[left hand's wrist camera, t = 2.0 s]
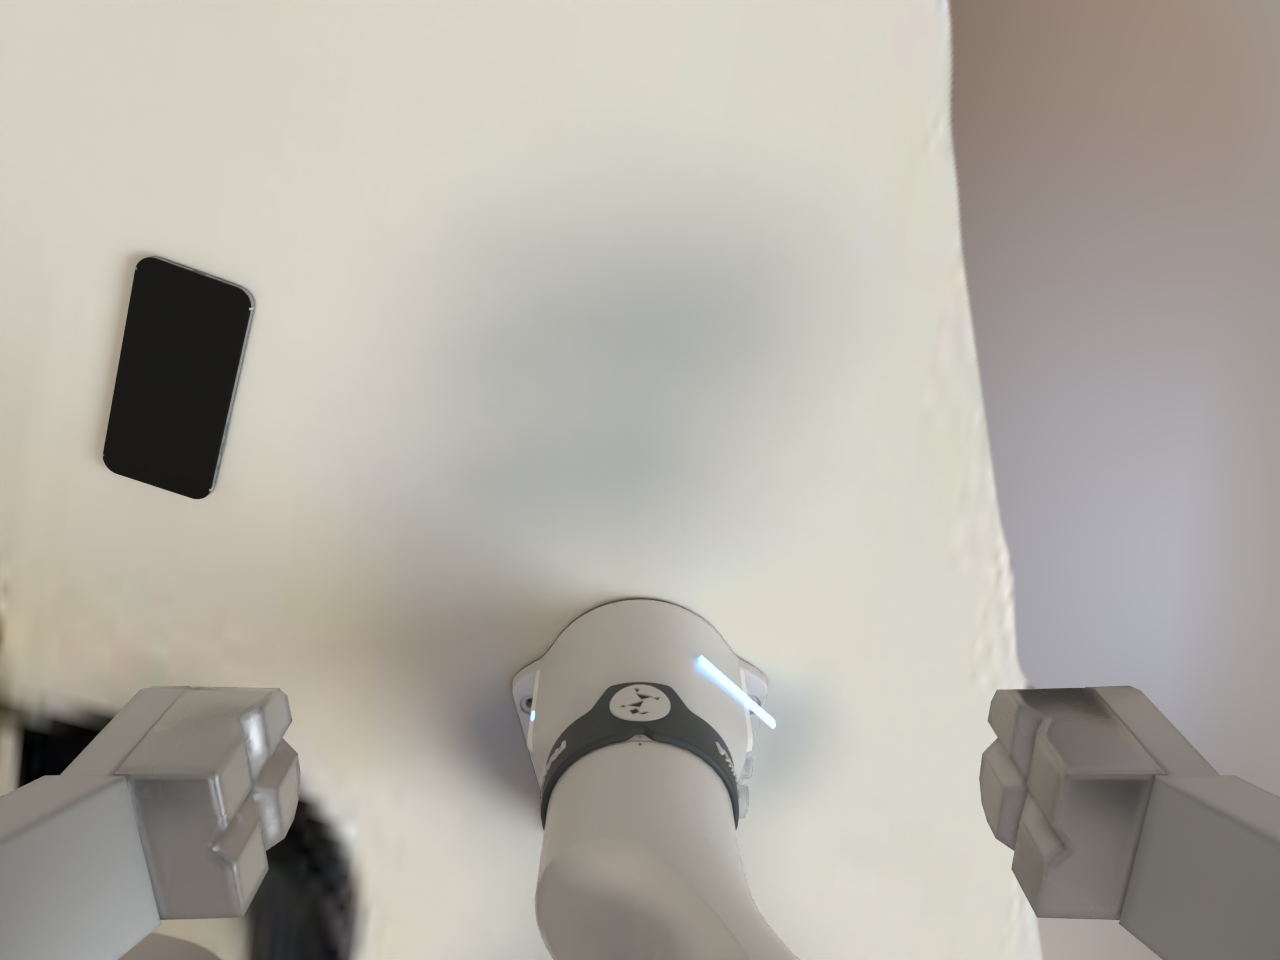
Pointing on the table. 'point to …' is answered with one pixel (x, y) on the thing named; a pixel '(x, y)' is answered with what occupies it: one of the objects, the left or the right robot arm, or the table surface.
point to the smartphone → (176, 377)
